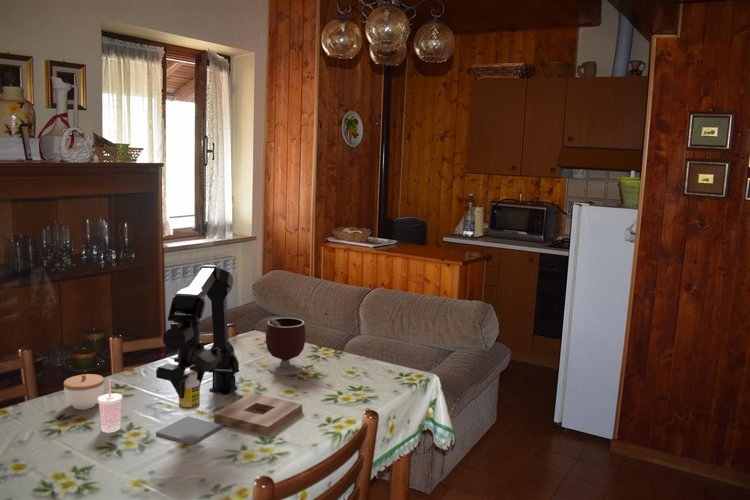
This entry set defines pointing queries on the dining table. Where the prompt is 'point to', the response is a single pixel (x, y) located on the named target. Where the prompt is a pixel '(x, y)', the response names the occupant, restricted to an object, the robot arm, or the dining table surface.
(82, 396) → the lidded jar
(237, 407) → the holder block
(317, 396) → the dining table surface
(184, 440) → the pad
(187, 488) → the dining table surface
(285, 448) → the dining table surface
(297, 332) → the mate gourd
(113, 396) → the beverage cup
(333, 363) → the dining table surface
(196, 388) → the supplement bottle
